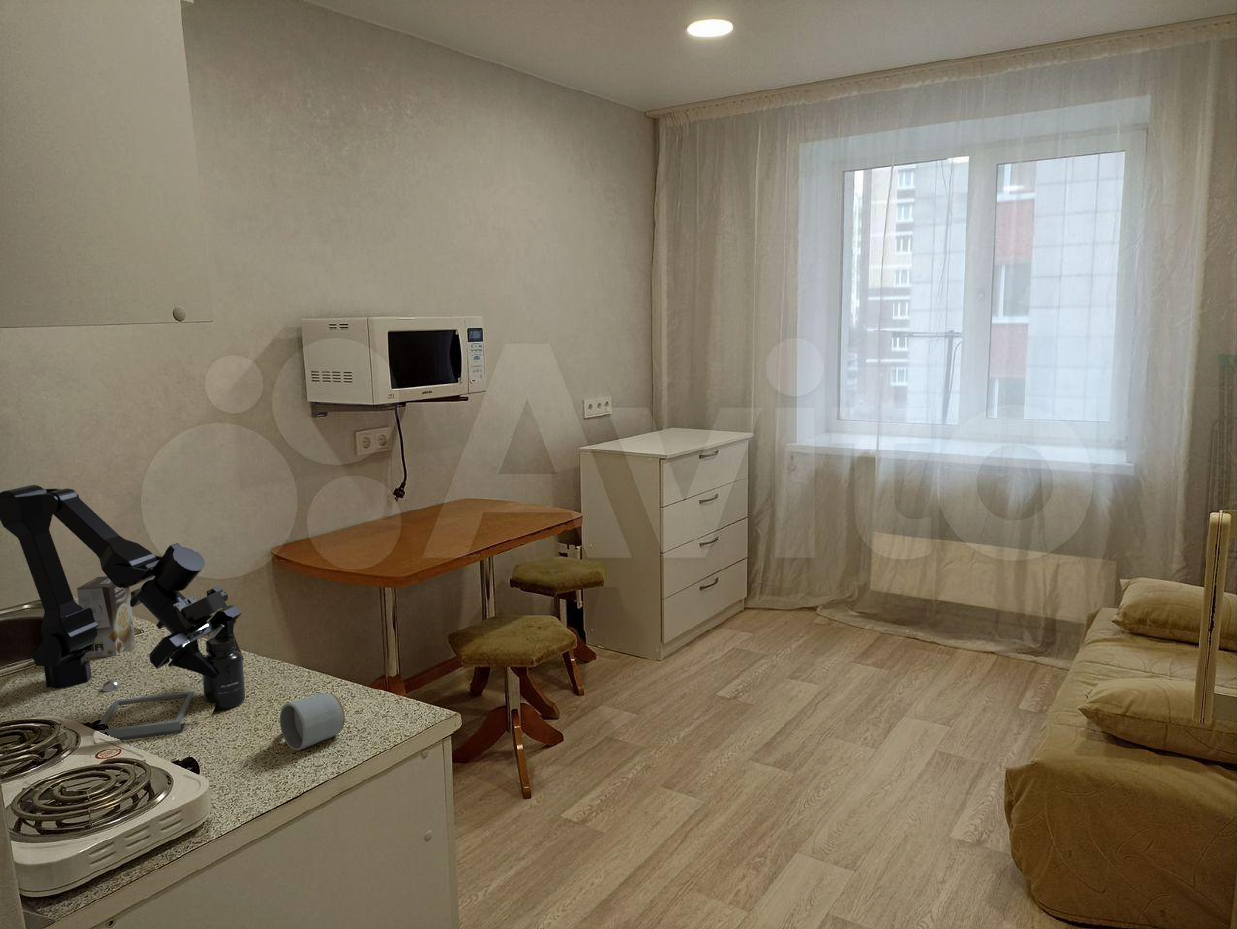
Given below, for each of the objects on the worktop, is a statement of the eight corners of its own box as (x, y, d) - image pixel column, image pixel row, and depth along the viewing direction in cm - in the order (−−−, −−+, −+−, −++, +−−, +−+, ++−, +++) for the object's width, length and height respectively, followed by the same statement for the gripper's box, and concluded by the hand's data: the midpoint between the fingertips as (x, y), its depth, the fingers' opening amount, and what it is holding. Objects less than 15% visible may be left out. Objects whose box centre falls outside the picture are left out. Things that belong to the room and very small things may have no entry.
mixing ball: (101, 700, 162) (99, 684, 162) (105, 693, 165) (104, 678, 165) (119, 698, 163) (117, 682, 163) (123, 691, 166) (121, 676, 165)
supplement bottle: (230, 712, 156) (224, 648, 154) (196, 709, 157) (190, 645, 155) (254, 696, 163) (248, 634, 161) (221, 693, 164) (215, 632, 162)
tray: (94, 744, 145) (93, 732, 145) (116, 710, 158) (115, 700, 157) (180, 732, 149) (179, 721, 148) (195, 701, 161) (194, 690, 161)
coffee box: (117, 662, 180) (108, 587, 178) (84, 664, 180) (75, 588, 177) (137, 646, 189) (128, 574, 187) (105, 648, 189) (96, 575, 186)
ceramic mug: (350, 737, 146) (346, 693, 145) (305, 756, 140) (301, 711, 138) (314, 721, 152) (310, 679, 151) (270, 739, 146) (265, 695, 145)
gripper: (156, 593, 148) (220, 660, 148) (227, 563, 166) (285, 622, 165) (121, 635, 151) (184, 701, 151) (195, 601, 169) (251, 659, 168)
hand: (229, 668), depth 159 cm, fingers closed on supplement bottle, 7 cm apart
